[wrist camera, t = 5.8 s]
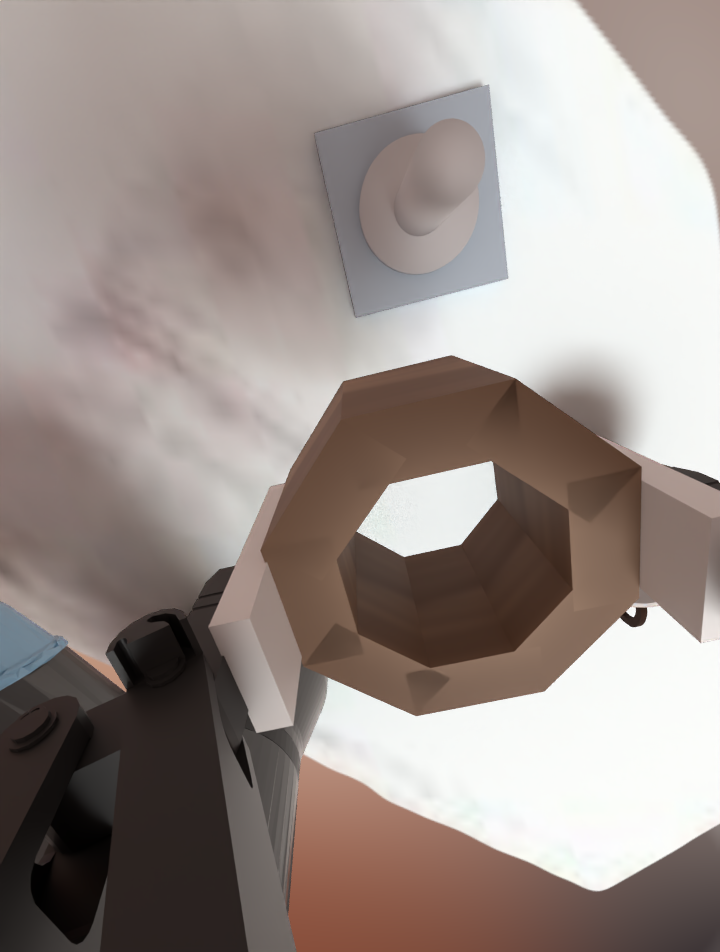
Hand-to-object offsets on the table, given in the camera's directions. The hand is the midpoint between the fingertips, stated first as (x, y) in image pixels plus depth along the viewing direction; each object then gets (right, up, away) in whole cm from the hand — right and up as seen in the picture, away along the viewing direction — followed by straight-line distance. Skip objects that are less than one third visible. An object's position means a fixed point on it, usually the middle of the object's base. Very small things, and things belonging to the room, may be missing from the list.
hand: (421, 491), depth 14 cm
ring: (0, 0, 0) cm, 0 cm away
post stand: (+1, +17, +12) cm, 21 cm away
